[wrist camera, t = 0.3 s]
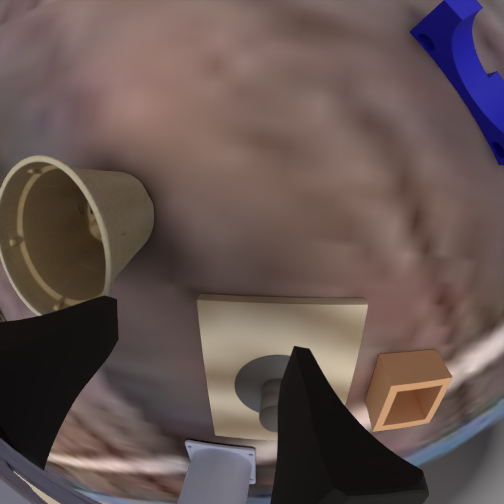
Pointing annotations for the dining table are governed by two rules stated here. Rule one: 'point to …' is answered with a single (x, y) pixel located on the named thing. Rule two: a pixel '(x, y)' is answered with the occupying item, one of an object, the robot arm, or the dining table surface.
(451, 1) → the cable clip
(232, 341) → the post plate
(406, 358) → the collar
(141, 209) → the flower pot
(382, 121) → the dining table surface
